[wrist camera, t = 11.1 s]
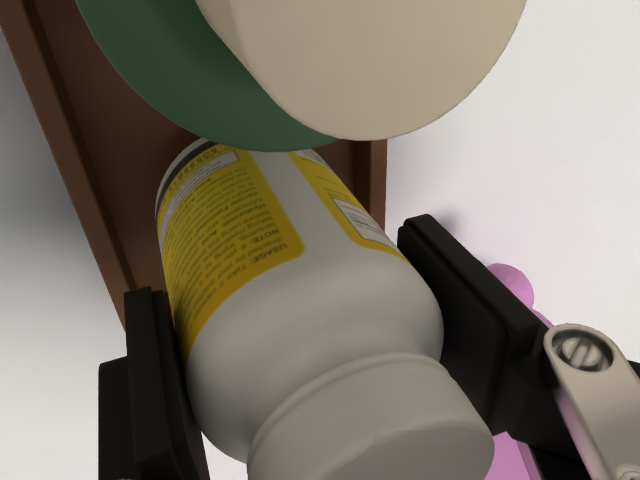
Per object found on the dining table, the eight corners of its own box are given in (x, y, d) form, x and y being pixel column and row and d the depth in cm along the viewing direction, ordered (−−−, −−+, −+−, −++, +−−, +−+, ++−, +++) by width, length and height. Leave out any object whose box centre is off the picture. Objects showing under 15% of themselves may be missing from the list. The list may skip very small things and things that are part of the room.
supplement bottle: (154, 281, 16) (207, 641, 8) (151, 115, 13) (224, 429, 5) (314, 267, 18) (474, 545, 10) (340, 121, 15) (590, 355, 7)
